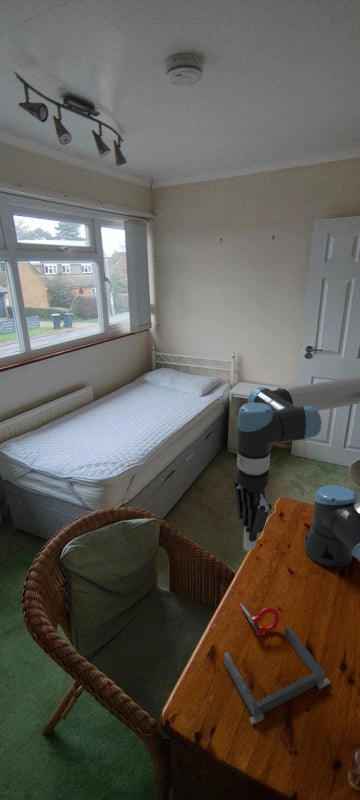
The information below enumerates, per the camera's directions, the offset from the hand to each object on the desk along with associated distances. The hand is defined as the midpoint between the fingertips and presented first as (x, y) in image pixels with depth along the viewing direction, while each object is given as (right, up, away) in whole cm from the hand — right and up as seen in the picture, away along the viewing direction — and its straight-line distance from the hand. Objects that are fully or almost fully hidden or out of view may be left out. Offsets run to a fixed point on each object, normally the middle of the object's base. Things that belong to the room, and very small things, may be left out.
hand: (249, 547), depth 97 cm
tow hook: (+7, -18, +7) cm, 20 cm away
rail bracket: (+4, -27, -7) cm, 28 cm away
